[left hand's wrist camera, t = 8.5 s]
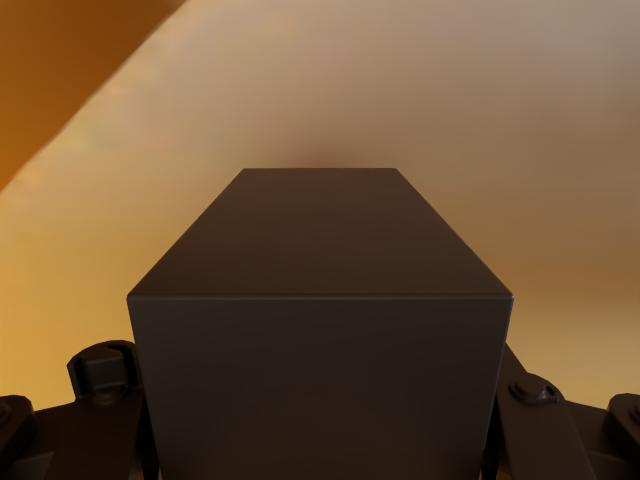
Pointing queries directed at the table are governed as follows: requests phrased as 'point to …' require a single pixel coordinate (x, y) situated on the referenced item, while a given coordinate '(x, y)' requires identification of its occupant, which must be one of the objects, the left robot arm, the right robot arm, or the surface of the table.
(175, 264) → the bar
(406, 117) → the table surface
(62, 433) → the left robot arm
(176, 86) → the table surface
